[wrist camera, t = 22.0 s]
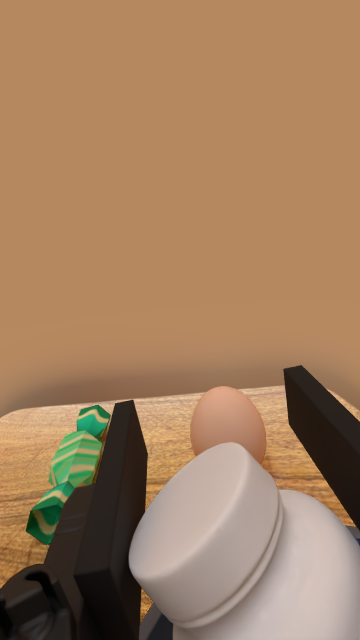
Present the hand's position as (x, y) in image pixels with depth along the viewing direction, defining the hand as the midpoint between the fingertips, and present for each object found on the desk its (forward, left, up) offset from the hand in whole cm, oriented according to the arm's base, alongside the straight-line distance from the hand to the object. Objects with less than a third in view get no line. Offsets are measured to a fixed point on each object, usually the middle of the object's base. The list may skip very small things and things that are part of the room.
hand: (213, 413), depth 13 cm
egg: (+5, -8, -12) cm, 15 cm away
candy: (+17, -2, -12) cm, 21 cm away
